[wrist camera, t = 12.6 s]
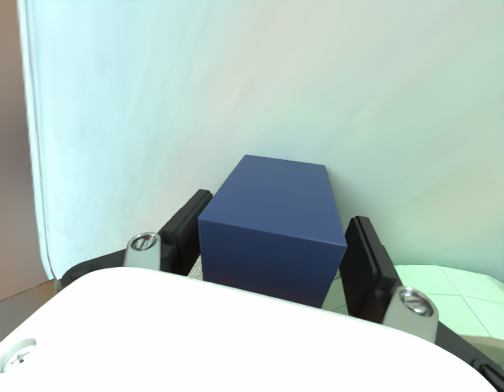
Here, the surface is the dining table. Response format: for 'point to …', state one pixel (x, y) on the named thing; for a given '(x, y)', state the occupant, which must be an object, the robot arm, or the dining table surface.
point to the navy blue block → (273, 231)
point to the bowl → (451, 303)
